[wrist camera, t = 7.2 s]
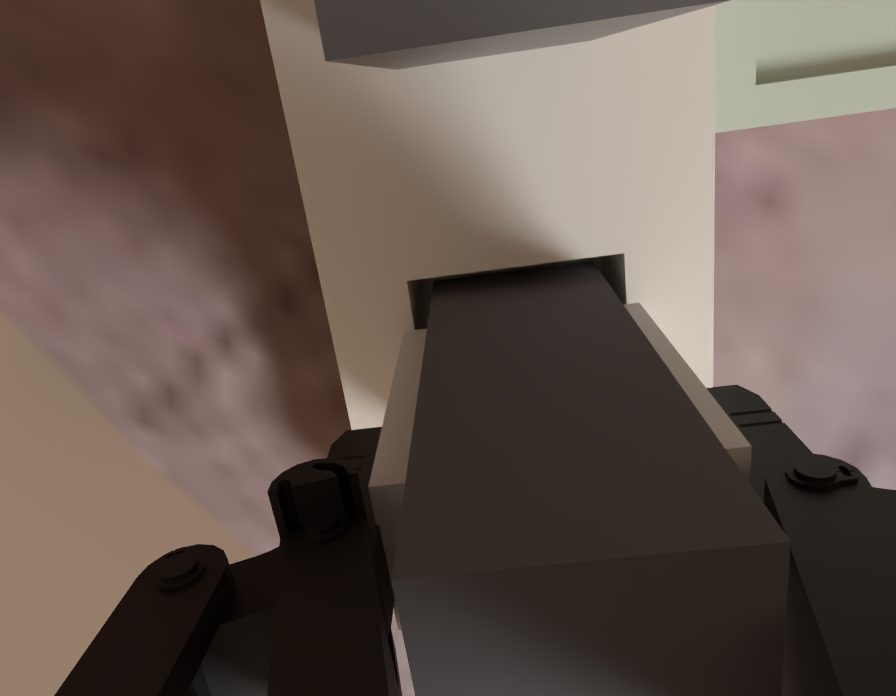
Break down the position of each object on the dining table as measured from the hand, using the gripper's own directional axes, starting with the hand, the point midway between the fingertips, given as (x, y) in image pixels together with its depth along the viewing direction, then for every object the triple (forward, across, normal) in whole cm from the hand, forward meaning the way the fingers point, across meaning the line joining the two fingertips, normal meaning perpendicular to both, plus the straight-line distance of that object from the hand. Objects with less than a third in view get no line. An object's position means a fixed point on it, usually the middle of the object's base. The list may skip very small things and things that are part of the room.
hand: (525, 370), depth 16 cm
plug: (+2, 0, 0) cm, 2 cm away
